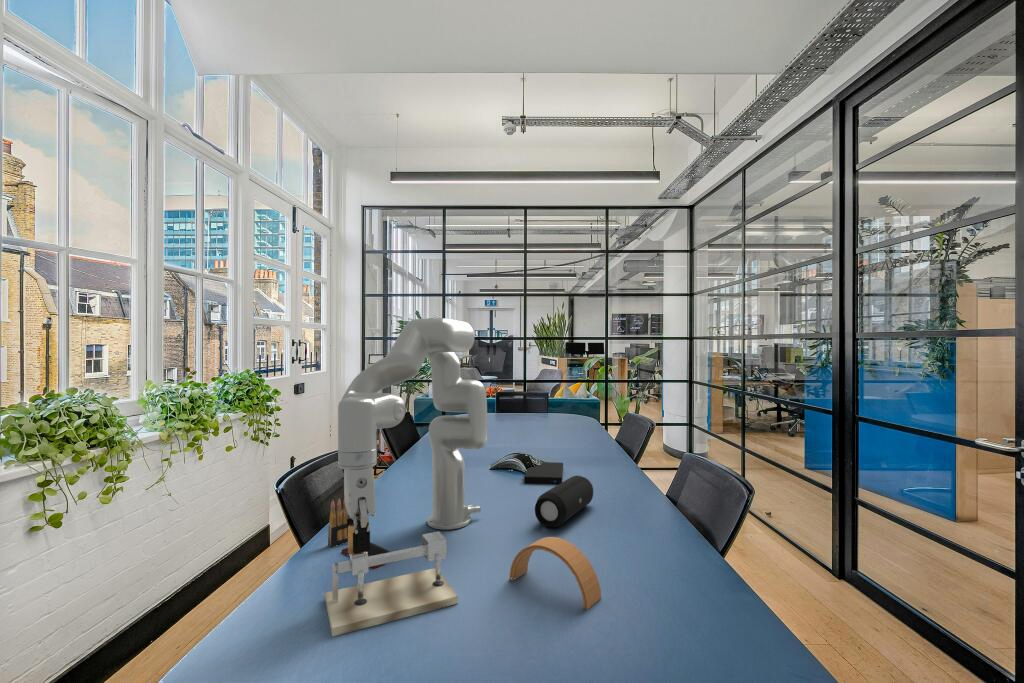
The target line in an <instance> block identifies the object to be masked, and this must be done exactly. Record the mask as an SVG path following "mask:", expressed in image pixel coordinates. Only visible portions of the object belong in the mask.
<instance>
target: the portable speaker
mask: <svg viewBox="0 0 1024 683" xmlns="http://www.w3.org/2000/svg"><path fill="white" fill-rule="evenodd" d="M593 497H594V486H593V484H592V482H591V481H590V480H589V479H588V478H587V477H584V476H582V475H573V476H571V477H569V478H567V479H565V480H563V481H562V483H560V484H559V485H557V484H556V486H553V487H552V488H551V489H548V490H547V491H545V492H544V493H542V494H541V495H539V496H538V498H537V500H536V503H535V506H534V515H535V517H536V519H537V521H538V523H540V524H541V525H542V526H544V527H547V528H558V527H560V526H562V525H563V524H564V523H565V522H566V521H568V520H570V519H571V518H572V517H573V516H574V515H575V514H577V513H579V511H581V510H582V509H583V508H585V507H586V506H588V505H590V503H591V502H592V500H593Z"/></svg>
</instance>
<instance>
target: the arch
mask: <svg viewBox="0 0 1024 683" xmlns="http://www.w3.org/2000/svg"><path fill="white" fill-rule="evenodd" d="M535 550H538V551H545V552H548V553H550V554H552V555H554V556H556V557H557V558H558V559H560V560H561V561H562V562H563V563H564V564H565V565H566V566H567V568H568V569H569V570H570V572H571V573H572V575H573V576H574V578H575V580H576V582H577V585H578V587H579V589H580V592H581V596H582V602H583V605H582V606H583V609H586V610H589V609H590V608H591V607H592V606H594V605H595V604H596V603H597V602H598V601H600V600H601V598H602V592H601V586H600V581H599V579H598V575H597V573H596V571H595V569H594V567H593V565H592V563H591V562H590V561H589V559H588V558H587V556H586V555H585V554H584V553H583V552H582V551H581V550H580V549H579V548H578V547H577V546H575V544H573V543H571V542H570V541H568V540H566V539H563V538H560V537H557V536H556V537H555V536H547V537H543V538H540V539H538V540H536V541H535V542H533V543H531V544H529V545H528V546H526V547H524V548H522V549H521V550H520V551H518V553H517V554H516V555H515V556H514V558H513V560H512V563H511V566H510V570H509V580H511V581H515V579H514V578H517V577H518V578H520V577H521V575H522V574H523V575H525V574H526V573H528V572H527V571H528V568H529V561H530V558H531V556H532V554H533V552H534V551H535ZM524 573H525V574H524ZM523 575H522V576H523ZM519 576H520V577H519ZM511 578H512V579H511ZM518 578H517V579H518Z"/></svg>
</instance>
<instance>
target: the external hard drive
mask: <svg viewBox="0 0 1024 683" xmlns="http://www.w3.org/2000/svg"><path fill="white" fill-rule="evenodd" d="M563 476H564V463H563V462H552V461H551V462H548V461H546V462H543V461H542V464H541V465H537V466H534V467H530V468H528V467H527V469H526V473H525V475H524V478H523V480H524V481H523V482H524V484H527V485H528V484H529V485H530V484H531V485H532V484H533V485H556V486H557V485H559V484H560V483H562V482H563V479H564V478H563Z"/></svg>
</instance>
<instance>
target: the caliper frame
mask: <svg viewBox="0 0 1024 683" xmlns="http://www.w3.org/2000/svg"><path fill="white" fill-rule="evenodd" d="M423 556H424V557H425V560H426V561H427V562H433V561H434V568H435V580H436V581H437V582H439V581H440V580H441V574H442V560H443V559H447V538H446V537H445V536H444V535H443V534H442V532H440V531H434V532H430V533H429V532H428V533H424V534H423V533H422V534H421V545H420V546H416V547H415V546H413V547H410V548H409V547H408V548H403V549H399V550H395V551H394V550H393V551H390V552H389V553H384V554H379V555H374V556H369V557H368V568H369V567H371V566H376V565H381V564H384V565H386V564H391V563H394V562H398V561H399V562H400V561H403V560H408V559H409V560H410V559H413V558H418V557H423ZM385 563H386V564H385ZM347 572H352V562H351V559H350V560H349V559H348V560H344V561H339V562H335V563H331V591H332V602H333V603H338V590H339V574H340V573H341V574H342V573H347Z"/></svg>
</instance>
